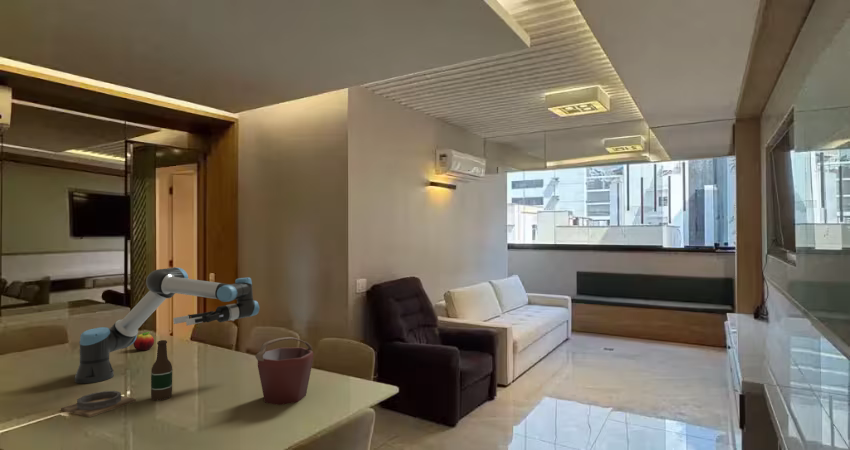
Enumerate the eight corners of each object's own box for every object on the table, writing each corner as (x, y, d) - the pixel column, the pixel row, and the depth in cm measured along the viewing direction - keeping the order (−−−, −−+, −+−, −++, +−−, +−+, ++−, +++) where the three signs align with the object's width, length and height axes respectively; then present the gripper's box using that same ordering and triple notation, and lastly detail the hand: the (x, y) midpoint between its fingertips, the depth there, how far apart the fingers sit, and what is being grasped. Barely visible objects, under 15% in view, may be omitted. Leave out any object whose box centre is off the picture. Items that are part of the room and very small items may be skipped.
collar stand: (60, 410, 180) (60, 401, 180) (107, 395, 197) (107, 387, 197) (90, 417, 173) (90, 407, 173) (136, 401, 190) (136, 392, 190)
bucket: (257, 411, 179) (257, 346, 179) (250, 394, 198) (250, 336, 199) (319, 400, 190) (319, 340, 190) (307, 385, 209) (307, 330, 210)
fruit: (128, 351, 272) (129, 334, 273) (142, 347, 283) (143, 330, 283) (144, 352, 271) (144, 335, 271) (158, 347, 281) (158, 331, 282)
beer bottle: (162, 401, 189) (163, 343, 190) (146, 400, 191) (147, 342, 192) (176, 395, 197) (176, 339, 198) (160, 393, 199) (161, 338, 199)
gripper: (240, 322, 211) (192, 331, 194) (215, 319, 227) (169, 328, 210) (239, 305, 211) (191, 314, 195) (214, 304, 227) (168, 312, 211)
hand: (179, 321), depth 202 cm, fingers open, 13 cm apart
